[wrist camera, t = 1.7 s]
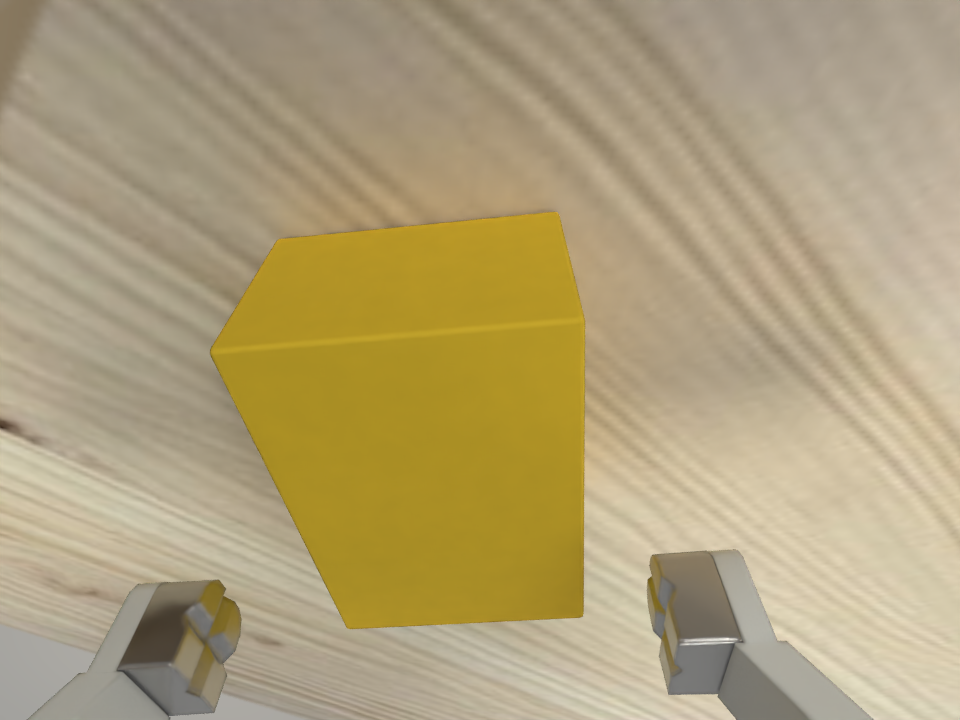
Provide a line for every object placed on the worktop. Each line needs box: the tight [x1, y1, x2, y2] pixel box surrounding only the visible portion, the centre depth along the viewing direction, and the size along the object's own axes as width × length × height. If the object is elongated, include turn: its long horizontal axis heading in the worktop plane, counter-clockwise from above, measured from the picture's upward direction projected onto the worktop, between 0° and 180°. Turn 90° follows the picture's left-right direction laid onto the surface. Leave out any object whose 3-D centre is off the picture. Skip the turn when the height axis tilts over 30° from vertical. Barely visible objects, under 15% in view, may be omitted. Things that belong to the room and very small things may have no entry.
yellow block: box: [210, 212, 585, 629], centre depth 13 cm, size 9×6×4 cm, turn 6°
